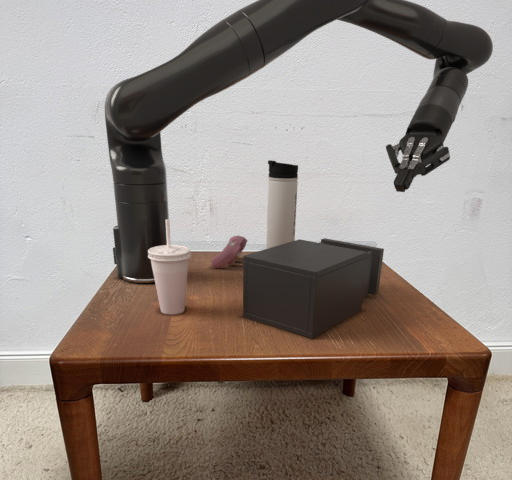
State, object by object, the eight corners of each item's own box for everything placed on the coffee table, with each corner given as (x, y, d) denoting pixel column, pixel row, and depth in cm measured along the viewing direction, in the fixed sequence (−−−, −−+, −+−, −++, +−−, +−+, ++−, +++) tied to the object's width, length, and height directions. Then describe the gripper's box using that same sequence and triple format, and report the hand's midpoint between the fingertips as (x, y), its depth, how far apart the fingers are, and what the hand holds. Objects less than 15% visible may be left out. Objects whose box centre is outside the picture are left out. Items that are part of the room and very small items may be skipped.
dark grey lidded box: (296, 293, 85) (299, 239, 81) (361, 310, 78) (367, 251, 74) (242, 316, 75) (243, 255, 71) (312, 338, 68) (316, 272, 64)
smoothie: (191, 302, 80) (187, 216, 75) (195, 316, 75) (191, 224, 69) (151, 304, 79) (144, 216, 73) (152, 318, 73) (145, 225, 68)
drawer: (332, 275, 93) (336, 234, 90) (388, 287, 86) (394, 244, 83) (278, 298, 80) (279, 251, 77) (338, 315, 74) (343, 265, 71)
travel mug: (259, 252, 111) (261, 159, 103) (284, 249, 114) (288, 158, 106) (274, 259, 106) (277, 161, 98) (299, 256, 109) (304, 161, 101)
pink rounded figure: (228, 277, 99) (243, 247, 95) (208, 266, 98) (223, 236, 95) (239, 264, 107) (253, 237, 104) (221, 254, 107) (235, 226, 104)
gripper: (397, 102, 96) (362, 172, 93) (466, 102, 89) (430, 178, 85) (405, 131, 102) (372, 198, 99) (469, 133, 95) (436, 205, 91)
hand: (399, 189), depth 92 cm, fingers closed
